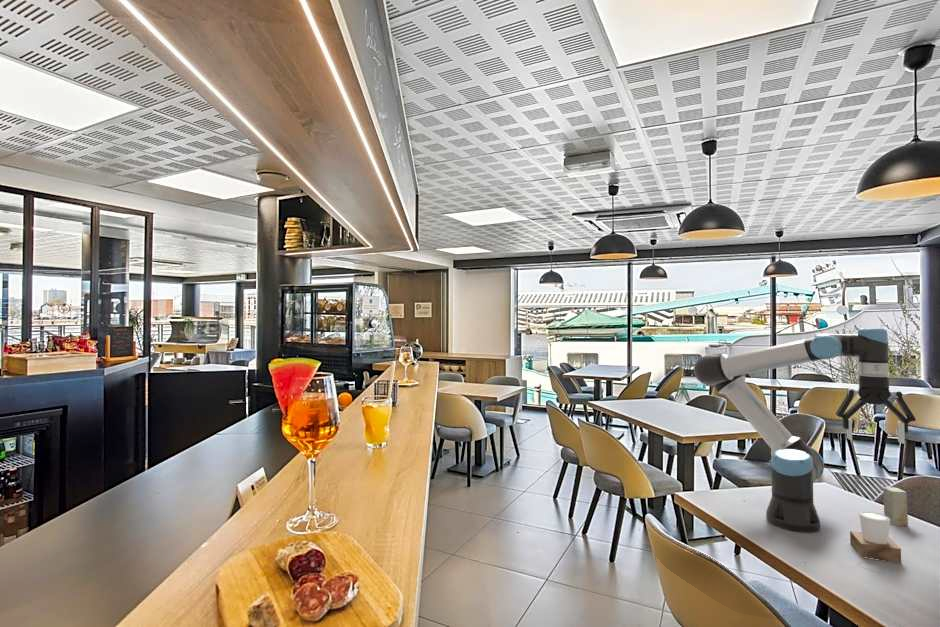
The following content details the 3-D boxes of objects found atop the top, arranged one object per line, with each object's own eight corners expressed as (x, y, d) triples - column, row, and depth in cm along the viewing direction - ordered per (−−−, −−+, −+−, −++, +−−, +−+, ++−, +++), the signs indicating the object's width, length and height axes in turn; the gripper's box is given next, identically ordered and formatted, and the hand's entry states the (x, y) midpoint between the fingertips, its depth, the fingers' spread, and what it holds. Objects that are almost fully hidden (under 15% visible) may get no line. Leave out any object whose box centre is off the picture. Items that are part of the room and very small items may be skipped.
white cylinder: (853, 535, 143) (853, 511, 143) (875, 534, 144) (874, 510, 144) (875, 546, 136) (874, 521, 136) (897, 544, 137) (896, 520, 137)
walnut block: (861, 557, 138) (861, 543, 138) (850, 544, 146) (850, 530, 146) (901, 563, 134) (900, 549, 134) (887, 549, 143) (887, 535, 143)
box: (908, 526, 158) (907, 492, 159) (893, 525, 159) (892, 491, 159) (897, 519, 163) (897, 487, 164) (883, 518, 164) (882, 486, 165)
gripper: (831, 375, 158) (832, 440, 158) (928, 378, 149) (930, 447, 148) (824, 372, 165) (825, 434, 165) (916, 375, 156) (918, 441, 155)
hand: (874, 440), depth 157 cm, fingers open, 13 cm apart
